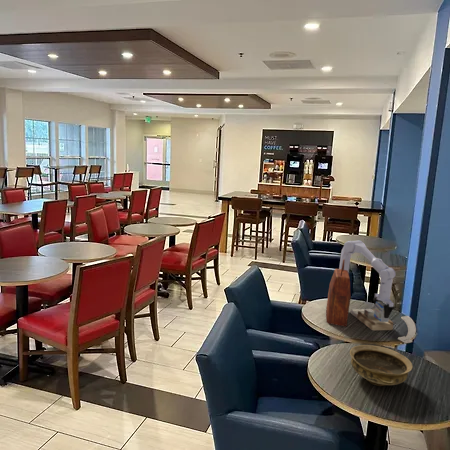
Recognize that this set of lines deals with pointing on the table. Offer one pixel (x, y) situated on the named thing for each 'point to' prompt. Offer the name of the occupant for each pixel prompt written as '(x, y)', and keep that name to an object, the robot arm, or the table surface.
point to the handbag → (338, 298)
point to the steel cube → (369, 313)
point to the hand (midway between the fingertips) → (381, 314)
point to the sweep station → (372, 321)
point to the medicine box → (380, 311)
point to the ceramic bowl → (380, 364)
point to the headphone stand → (410, 330)
